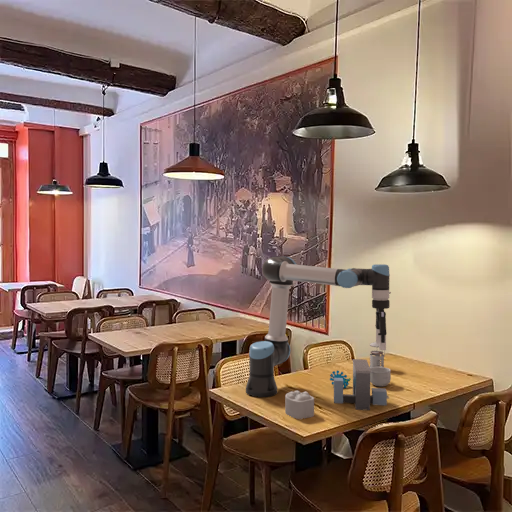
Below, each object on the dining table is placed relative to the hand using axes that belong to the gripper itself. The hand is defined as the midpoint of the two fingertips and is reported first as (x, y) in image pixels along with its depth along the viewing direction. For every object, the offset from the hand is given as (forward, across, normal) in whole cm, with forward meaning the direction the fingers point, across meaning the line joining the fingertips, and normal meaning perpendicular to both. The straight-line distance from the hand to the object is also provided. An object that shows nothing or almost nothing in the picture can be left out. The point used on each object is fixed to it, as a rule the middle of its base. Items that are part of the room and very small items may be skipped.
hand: (380, 346), depth 220 cm
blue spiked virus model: (+25, +22, +17) cm, 38 cm away
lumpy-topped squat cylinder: (+25, -17, +36) cm, 47 cm away
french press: (+26, +60, -5) cm, 66 cm away
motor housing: (+25, 0, +9) cm, 27 cm away
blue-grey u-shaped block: (+25, 0, +9) cm, 27 cm away
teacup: (+26, +30, -3) cm, 40 cm away
